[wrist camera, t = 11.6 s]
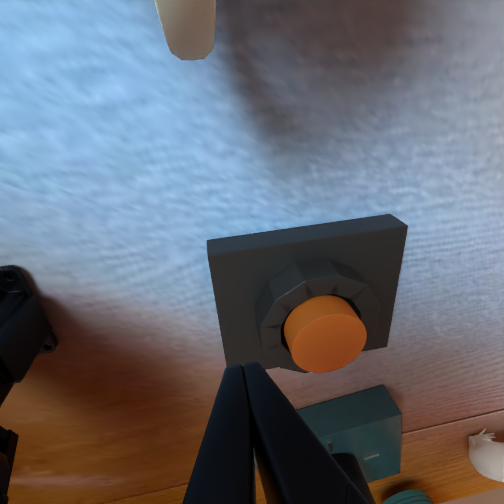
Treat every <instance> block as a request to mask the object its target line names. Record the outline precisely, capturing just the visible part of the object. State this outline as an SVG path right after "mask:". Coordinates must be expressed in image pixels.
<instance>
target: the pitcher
mask: <svg viewBox="0 0 504 504" xmlns="http://www.w3.org/2000/svg"><path fill="white" fill-rule="evenodd" d="M154 2H155V6H156V10H157V13H158V17H159V20H160V23H161V26H162V29H163V32H164V35H165V38H166V41H167V44H168V46H169V49H170V51H171V53H172V54H174V55H175V56H177V57H178V58H180V59H181V60H198V59H204V58H205V57H206V56H207V55H208V54H209V53H211V52H212V49H213V43H214V32H215V20H216V0H154Z"/></svg>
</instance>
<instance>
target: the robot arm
mask: <svg viewBox="0 0 504 504" xmlns="http://www.w3.org/2000/svg"><path fill="white" fill-rule="evenodd" d="M8 273H11V274H12V275H13V276H14V277H13V276H10V275H8ZM47 344H49V345H47ZM57 345H58V341H57V339H56V337H55V335H54V333H53V331H52V327H51V325H50V323H49V321H48V319H47V317H46V315H45V313H44V311H43V309H42V307H41V305H40V304H39V302H38V300H37V298H35V297H34V295H33V293H32V291H31V289H30V287H29V285H28V283H27V281H26V279H25V277H24V275H23V273H22V272H21V270H20V269H19V268H17V267H15V266H12V265H8V266H1V267H0V407H1V405H2V403H3V402H4V400H5V398H6V397H7V395H8V393H9V392H10V390H11V388H12V387H13V385H14V383H19V382H21V381H22V379H23V378H24V377H25V375H26V373H27V371H28V370H29V368H30V366H31V365H32V363H33V361H34V359H35V358H36V356H37V355H39V354H45V353H50V352H53V351H54V350H55V349H56V347H57ZM18 437H19V436H18V434H16V433H15V432H13V431H12V430H6V429H4V428H3V427H1V426H0V504H8V499H9V498H8V496H7V492H8V487H9V482H10V477H11V472H12V467H13V462H14V457H15V452H16V447H17V442H18ZM253 448H254V451H253ZM254 454H255V459H256V463H257V467H258V471H259V475H260V478H261V482H262V486H263V490H264V493H265V497H266V501H267V504H369V502H368V501H367V500H366V499H365V498H364V496H363V495H362V494H361V492H360V491H359V490H358V489H357V487H356V486H355V485H354V483H353V482H352V481H350V482H349V477H348V476H347V475H346V474H345V472H344V471H343V470H342V468H341V467H340V466H339V465H338V463H337V462H336V461H335V459H334V458H333V457H332V456H331V454H330V453H329V452H328V450H327V449H326V448H325V447H324V445H323V444H322V443H321V442H320V440H319V439H318V438H317V436H316V435H315V434H314V433H313V431H312V430H311V429H310V427H309V426H308V425H307V424H306V422H305V421H304V420H303V418H302V417H301V416H300V415H299V413H298V412H297V411H296V410H295V408H294V407H293V406H292V404H291V403H290V402H289V401H288V399H287V398H286V397H285V395H284V394H283V393H282V392H281V390H280V389H279V388H278V386H277V385H276V384H275V383H274V381H273V380H272V379H271V378H270V376H269V375H268V374H267V372H266V371H265V370H264V369H263V367H262V366H261V365H260V364H259V363H258V362H250V363H245V364H243V366H241V365H240V364H238V365H232V366H227V367H226V368H225V371H224V374H223V377H222V380H221V383H220V387H219V390H218V393H217V396H216V399H215V402H214V405H213V409H212V412H211V415H210V418H209V421H208V424H207V427H206V431H205V434H204V437H203V440H202V443H201V446H200V449H199V453H198V456H197V459H196V462H195V465H194V468H193V471H192V475H191V478H190V481H189V484H188V487H187V490H186V493H185V497H184V500H183V503H182V504H256V486H255V464H254Z"/></svg>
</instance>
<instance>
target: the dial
mask: <svg viewBox="0 0 504 504" xmlns="http://www.w3.org/2000/svg"><path fill="white" fill-rule="evenodd" d="M331 456H332V457H333V458H334V459H335V461H336V462H337V463H338V465H339V466H340V467H341V468H342V470H343V471H344V472H345V474H346V475H347V476H348V477H349V482H350V481H352V482H353V483H354V485H355V486H356V487H357V489H358V490H359V491H360V492H361V494H362V495H363V496H364V498H365V499H366V500H367V501H368V502H369V504H376V503H375V501H374V498H373V496H372V494H371V491H370V489H369V487H368V484H367V482H366V480H365V477H364V475H363V473H362V470H361V468H360V466H359V463H358V461H357V459H356V457H355V456H353V455H352V454H348V453H337V454H333V455H331Z"/></svg>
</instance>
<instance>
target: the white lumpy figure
mask: <svg viewBox="0 0 504 504" xmlns="http://www.w3.org/2000/svg"><path fill="white" fill-rule="evenodd" d="M486 429H487V428H486ZM486 429H484V430H483V431H482V432H481V433H480V434H479V435H475V436H469V438H468V439H469V459H470V461H471V462H472V464H473V466H474V467H475V469H476V470H477V471H478V472H479V473H480V474H481V475H483V476H485V477H487V478H489V479H492V480H496V481H500V482H504V442H503V443H499V442H493V440H492V441H491V439H489V438H495V437H492V436H490V435H491V434H495V433H491V434H482V433H484V431H485V430H486ZM485 432H486V431H485Z"/></svg>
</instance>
